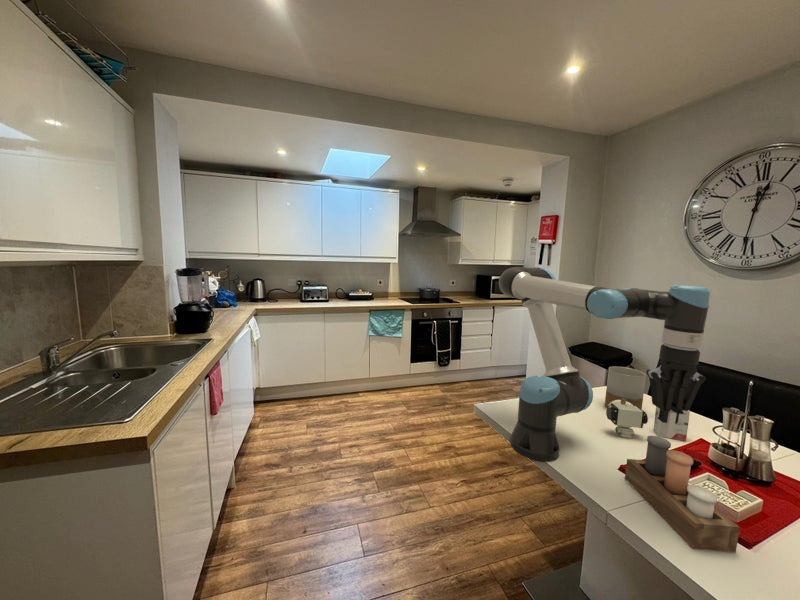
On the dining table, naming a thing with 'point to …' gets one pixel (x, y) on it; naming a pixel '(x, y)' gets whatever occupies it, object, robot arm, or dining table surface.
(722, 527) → the socket block
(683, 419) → the ink box
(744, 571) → the dining table surface
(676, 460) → the plug terracotta
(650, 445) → the plug charcoal
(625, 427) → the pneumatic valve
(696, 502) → the plug white
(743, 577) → the dining table surface
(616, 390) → the planter
